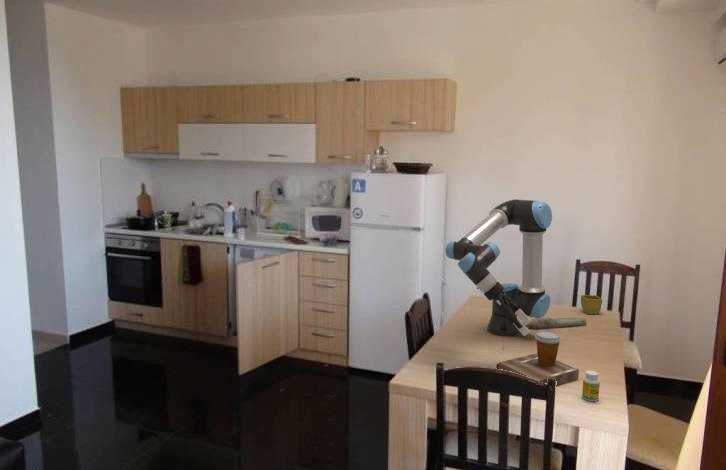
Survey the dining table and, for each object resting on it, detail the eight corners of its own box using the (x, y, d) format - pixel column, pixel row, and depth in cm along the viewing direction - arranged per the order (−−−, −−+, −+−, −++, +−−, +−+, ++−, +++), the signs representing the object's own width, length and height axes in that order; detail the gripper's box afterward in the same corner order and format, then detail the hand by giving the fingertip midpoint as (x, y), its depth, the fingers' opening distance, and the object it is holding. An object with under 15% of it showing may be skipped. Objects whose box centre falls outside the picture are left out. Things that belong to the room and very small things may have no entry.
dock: (535, 361, 226) (536, 351, 225) (578, 379, 207) (579, 368, 207) (496, 371, 215) (496, 360, 214) (537, 391, 197) (538, 380, 196)
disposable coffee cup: (556, 370, 206) (558, 340, 204) (531, 365, 210) (532, 335, 208) (561, 362, 214) (563, 332, 212) (536, 357, 218) (538, 328, 217)
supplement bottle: (590, 394, 195) (592, 368, 193) (601, 400, 190) (604, 374, 188) (578, 396, 193) (580, 370, 192) (589, 402, 188) (591, 376, 187)
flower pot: (601, 315, 291) (603, 299, 289) (585, 315, 291) (586, 299, 289) (595, 311, 299) (596, 295, 298) (579, 310, 299) (580, 295, 298)
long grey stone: (591, 329, 273) (578, 324, 282) (592, 319, 272) (579, 314, 282) (529, 330, 264) (518, 325, 273) (530, 319, 263) (519, 315, 273)
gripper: (486, 285, 225) (521, 324, 223) (479, 301, 202) (518, 344, 199) (500, 274, 223) (536, 313, 220) (494, 288, 199) (534, 332, 197)
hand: (528, 328), depth 210 cm, fingers open, 13 cm apart
